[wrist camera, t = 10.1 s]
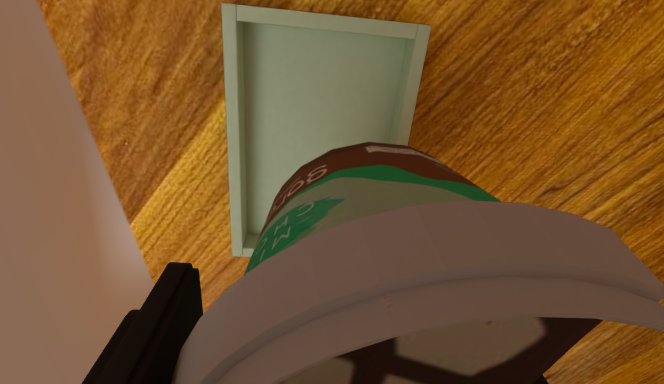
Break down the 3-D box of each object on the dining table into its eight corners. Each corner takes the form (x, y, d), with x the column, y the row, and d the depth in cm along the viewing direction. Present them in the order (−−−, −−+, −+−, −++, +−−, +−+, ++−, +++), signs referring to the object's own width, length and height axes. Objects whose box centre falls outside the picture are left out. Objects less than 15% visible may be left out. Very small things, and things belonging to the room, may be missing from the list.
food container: (312, 46, 12) (311, 91, 3) (451, 123, 13) (737, 312, 4) (201, 290, 16) (64, 608, 7) (314, 328, 18) (316, 632, 9)
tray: (238, 237, 27) (231, 256, 25) (231, 5, 20) (220, 2, 18) (378, 243, 28) (384, 263, 26) (418, 25, 21) (431, 25, 19)
